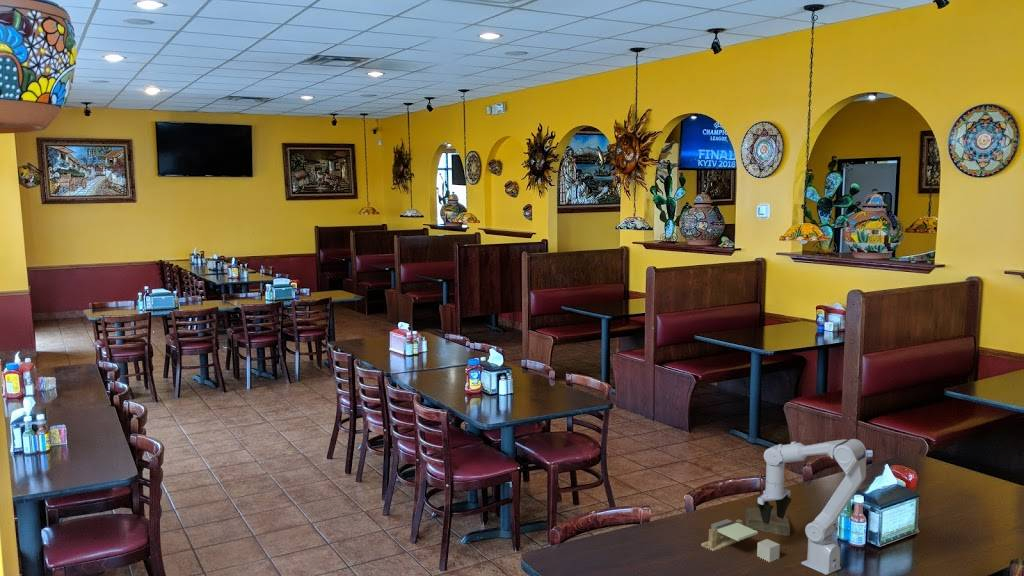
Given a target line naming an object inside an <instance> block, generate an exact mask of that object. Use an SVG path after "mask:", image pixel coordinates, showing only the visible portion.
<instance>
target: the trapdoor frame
mask: <svg viewBox="0 0 1024 576" xmlns="http://www.w3.org/2000/svg"><path fill="white" fill-rule="evenodd" d="M743 522H744V521H743V520H742V519H739V518H738V519H736V520H735V522H733V523H732V524H735V523H739V524H742V525H744V523H743ZM732 524H729V525H732ZM729 525H726V526H729ZM726 526H723V527H726ZM723 527H720V528H723ZM720 528H717V529H720ZM717 529H712V528H709V529H708V541H705V542H702V543H701V545H700V546H701V547H702V548H704V549H707V548H708V549H707V550H709V549H710V550H709V551H711V550H712V551H711V552H713V551H717V550H720V549H722V547H723V548H725V546H726V547H727V546H730V545H731V546H732V545H734V544H736V542H737V543H739V542H742V541H743V540H744V539H742V541H741V540H739V541H737V540H735V539H732V538H730V537H728V536H726V535H724V534H721V533H719V532H717Z"/></svg>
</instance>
